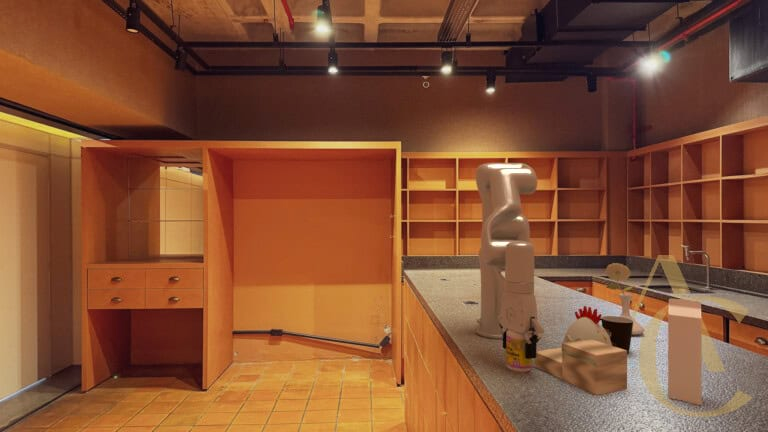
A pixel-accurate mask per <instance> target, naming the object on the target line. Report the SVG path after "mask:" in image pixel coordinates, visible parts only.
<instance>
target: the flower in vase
mask: <svg viewBox="0 0 768 432" xmlns="http://www.w3.org/2000/svg"><path fill="white" fill-rule="evenodd" d="M604 271H605V273H606V274H605V275H607V277H608V278H609V279H611V280H614V281H616V284H615V283H609V284H608V285H607V286H605V287H606V288H607V289H611V290H614V291H615V290H617V289H618V288H619V290H620V291H621V293H617V295H618V297H619V299H620V302H621V314H620V315H619V316H618V317H624V318H628V319H631V320H633V328H632V335H641V334H643V333H644V332H645V328H644V327H643V325H642V324H640V323H639V322H638V321H636V320H635V319H634V318H633V317H632V316H631V313H630V304H631V302H632V301H631V300H632V299H633V297H634V294H630V293H624V292H626V291H629V290H632V289H633V288H634V285H631V286H627V287H624V289H622V288H621V287H620V285H619V282H621V281H626V280H628V279H629V278H630V277H631V274H632V273H631V270H630V268H628V266H627V265H624V264H623V263H619V262H616V263H614V262H613V263H611V264H608V265H607V267H606V268H605V270H604ZM606 288H605V289H606ZM632 335H631V336H632Z"/></svg>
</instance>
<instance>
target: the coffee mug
mask: <svg viewBox="0 0 768 432" xmlns="http://www.w3.org/2000/svg"><path fill="white" fill-rule="evenodd" d="M600 321H601V325H602V327H603V328H604V329H605V330H606V332H607V334H608V335H609V337H610V340H611V343H612V346H614V347H617V348H620V349H624V350H627V356H629V354H630V348H631V342H632V328H633V320H631V319H628V318H624V317H619V316H618V315H617V316H615V315H603V316H601V318H600V320H599V322H598V323H600Z"/></svg>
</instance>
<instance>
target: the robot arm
mask: <svg viewBox="0 0 768 432" xmlns="http://www.w3.org/2000/svg"><path fill="white" fill-rule="evenodd" d="M475 183H476V187H477V190H478V195H479V197H480V199H481V215H482V218H481V221H482V223H481V224H482V225H481V226H482V228H481V231H480V244H481V246H480V248H479V249H478V263H479V270H480V318H479V319H476V323H477V324H479V327H477V328H476V330H475V334H477V335H478V336H481V337H484V338H487V339H500V340H501V339H502V348H503V349H504V350H506V332H507V330H508V329H509V330H511V331H514V332H517V333H520V334H524V336H525V338H526V341H527V343H525V358H526V359H532V360H533V358H536V351H537V344H539V341H540V340H541V339H542V336H543V334H544V332H545V330H544V328H543V327H542V326H541V324H540V323H539V322H538V307H537V300H536V295H535V246H534V245H533V244H532V243H531V236H530V235H531V229H530V223H529V219H528V217H527V216H525V215H524V214H522V209H523V208H522V203H521V202H522V201H521V196H520V195H532V194H535V192H536V190H537V188H538V178H537V174H536V172H535V170H534V168H532V167H531V166H530V165H528V164H526V163H523V162H486V163H483V164H480V165H478V166H477V168H476V170H475ZM502 272H503V273H504V275H503V273H502ZM529 334H531V336H532V337H531V338H530V336H529Z"/></svg>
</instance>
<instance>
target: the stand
mask: <svg viewBox="0 0 768 432" xmlns="http://www.w3.org/2000/svg"><path fill="white" fill-rule="evenodd" d="M532 366H533V367H535V368H536V369H539V370H540V371H541V370H542V371H543V372H546V373H547V374H549V375H552V376H554V377H556V378H558V379H561V380H562V381H565V382H567V383H569V384H572V385H573V386H575V387H578V388H580V389H583V390H585V391H587V392H590V393H591V394H593V395H595V396H598V395H603V394H608V393H609V394H610V393H613V392H619V391H622V389H623V390H627V389H628V355H627V350H624V349H620V348H617V347H614V346H611V345H608V344H605V343H602V342H598V341H595V340H592V339H590V340H582V341H575V342H567V343H563V342H562V343H561V347H556V348H548V349H541V350H540V349H539V350H536V358H532Z"/></svg>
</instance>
